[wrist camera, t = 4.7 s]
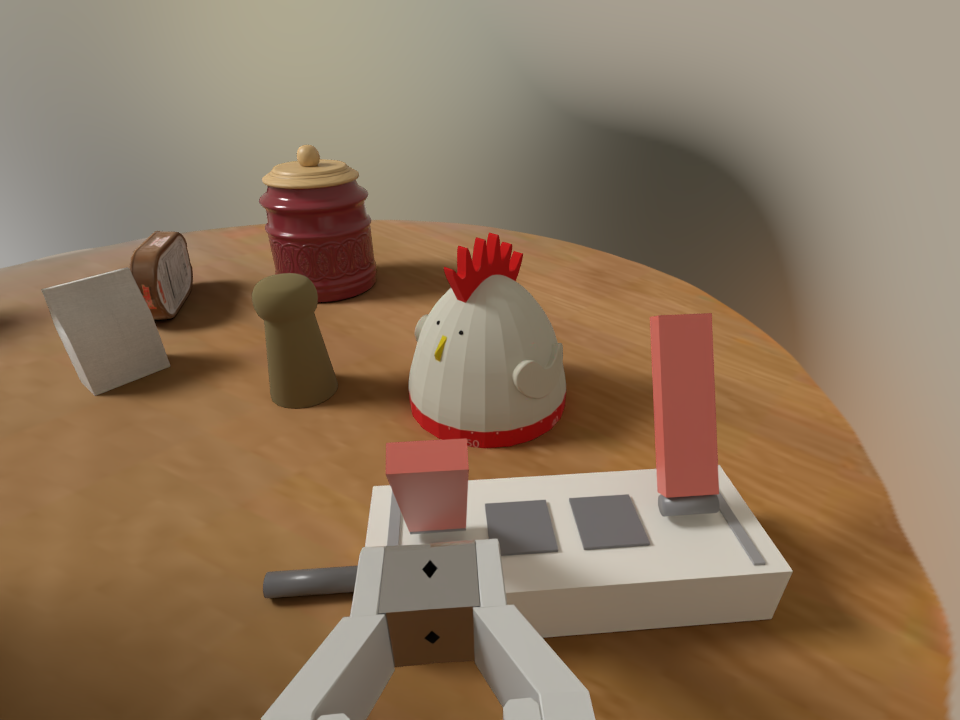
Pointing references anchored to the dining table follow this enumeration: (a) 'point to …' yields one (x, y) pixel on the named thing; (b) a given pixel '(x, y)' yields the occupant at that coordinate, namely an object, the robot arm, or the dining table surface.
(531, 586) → the power strip
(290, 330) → the cork
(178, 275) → the tin
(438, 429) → the kitchen timer
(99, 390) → the grey rectangular block
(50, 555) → the dining table surface
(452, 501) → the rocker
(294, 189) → the canister
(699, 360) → the rocker
